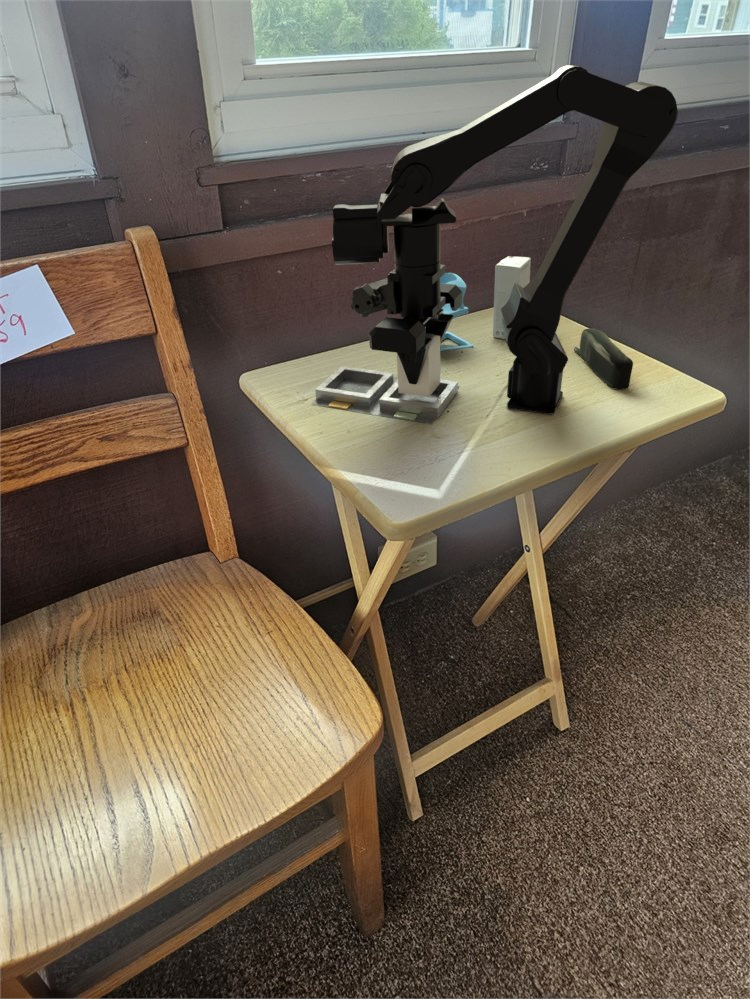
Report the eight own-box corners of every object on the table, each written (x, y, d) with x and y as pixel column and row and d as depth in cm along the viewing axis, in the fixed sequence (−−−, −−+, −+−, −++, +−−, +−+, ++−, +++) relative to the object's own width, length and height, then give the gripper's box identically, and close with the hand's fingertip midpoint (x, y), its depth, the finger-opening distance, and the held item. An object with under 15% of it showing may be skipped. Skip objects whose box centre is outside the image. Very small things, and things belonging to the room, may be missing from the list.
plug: (440, 383, 94) (440, 333, 90) (429, 397, 91) (428, 345, 87) (407, 378, 96) (405, 329, 92) (395, 392, 93) (392, 341, 88)
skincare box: (516, 341, 112) (521, 267, 105) (490, 337, 114) (494, 265, 107) (527, 328, 116) (533, 257, 109) (503, 325, 118) (507, 254, 111)
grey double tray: (461, 391, 98) (461, 376, 96) (433, 429, 89) (433, 414, 88) (347, 375, 104) (346, 361, 103) (311, 409, 96) (309, 394, 94)
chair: (406, 347, 112) (404, 275, 105) (448, 336, 115) (448, 265, 108) (431, 363, 107) (430, 288, 100) (474, 350, 110) (476, 277, 103)
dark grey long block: (638, 359, 93) (591, 319, 105) (618, 361, 92) (573, 321, 104) (631, 391, 96) (586, 349, 108) (612, 394, 95) (569, 351, 107)
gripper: (387, 238, 93) (392, 344, 102) (325, 278, 79) (337, 397, 88) (464, 242, 89) (462, 353, 98) (413, 285, 75) (415, 409, 84)
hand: (419, 376), depth 92 cm, fingers closed on plug, 4 cm apart
